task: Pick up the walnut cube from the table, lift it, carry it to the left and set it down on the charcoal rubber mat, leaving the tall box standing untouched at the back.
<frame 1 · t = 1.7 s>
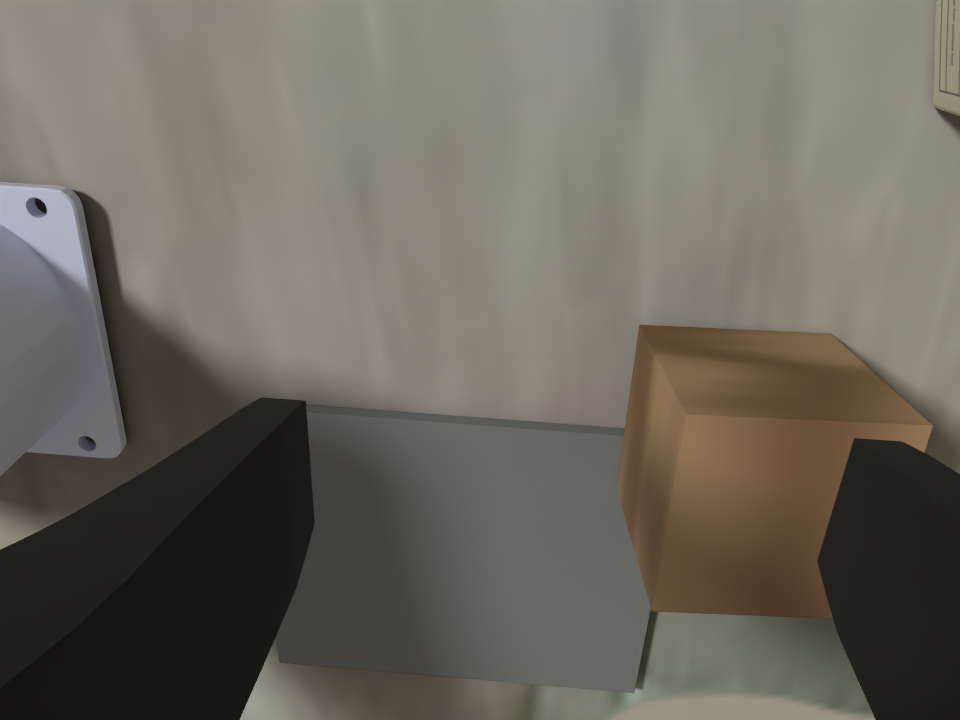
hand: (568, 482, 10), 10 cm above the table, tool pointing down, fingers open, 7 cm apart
mat: (461, 554, 24), on the table
cube: (719, 415, 21), on the table, touching mat
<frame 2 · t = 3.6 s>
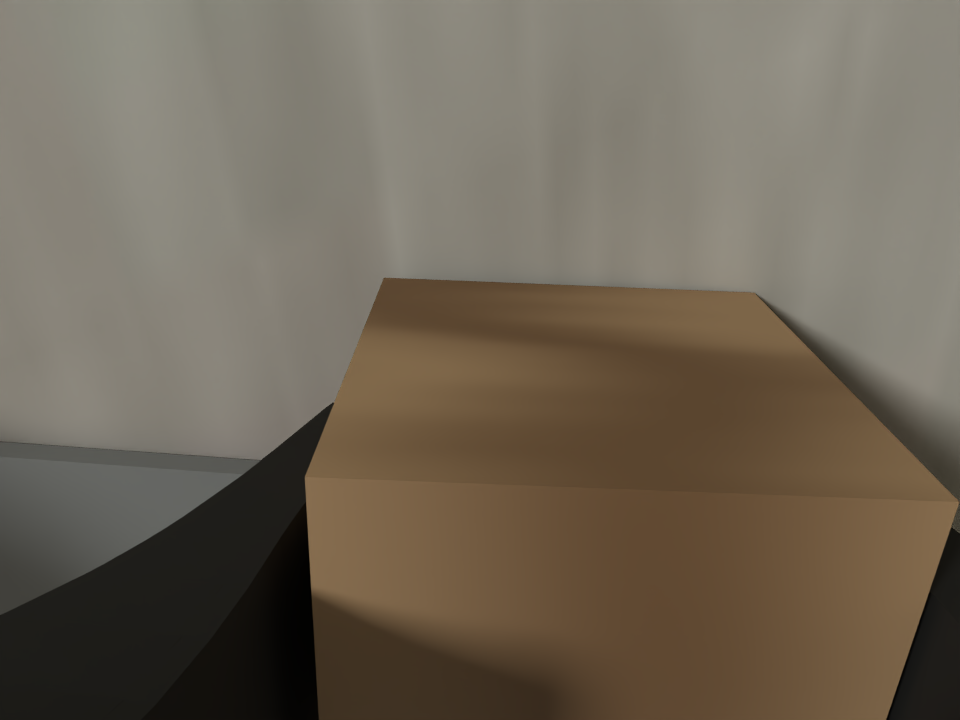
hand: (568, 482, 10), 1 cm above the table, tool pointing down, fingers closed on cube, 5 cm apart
mat: (167, 672, 15), on the table
cube: (555, 446, 12), on the table, touching gripper, mat
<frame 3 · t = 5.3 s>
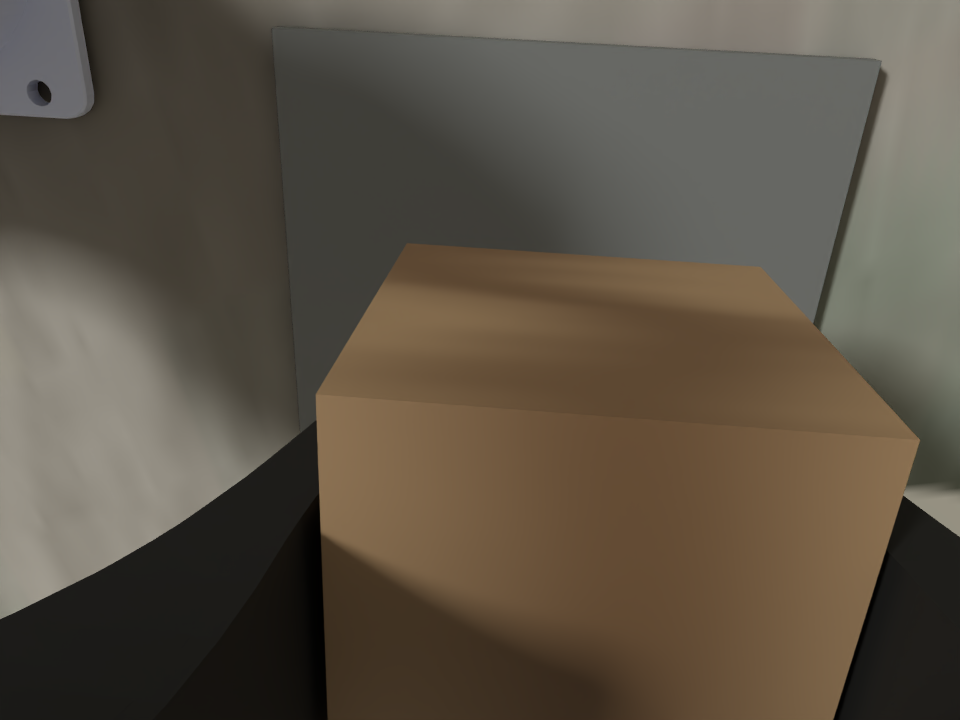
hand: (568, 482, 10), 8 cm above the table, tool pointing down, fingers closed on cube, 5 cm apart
mat: (549, 275, 18), on the table
cube: (565, 412, 12), point 7 cm above the table, touching gripper
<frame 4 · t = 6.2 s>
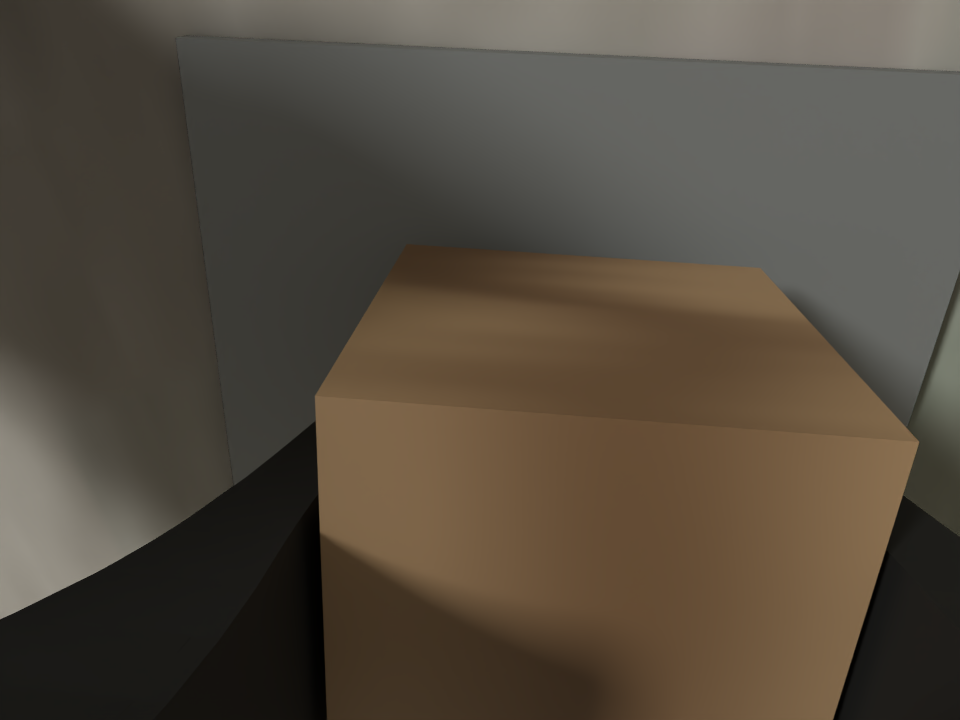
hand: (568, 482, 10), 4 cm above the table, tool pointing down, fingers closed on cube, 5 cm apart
mat: (559, 358, 14), on the table
cube: (565, 412, 12), point 2 cm above the table, touching gripper
when the fingers open (3 cm above the table, at t = 6.9 s): cube stays where it is, resting on mat.
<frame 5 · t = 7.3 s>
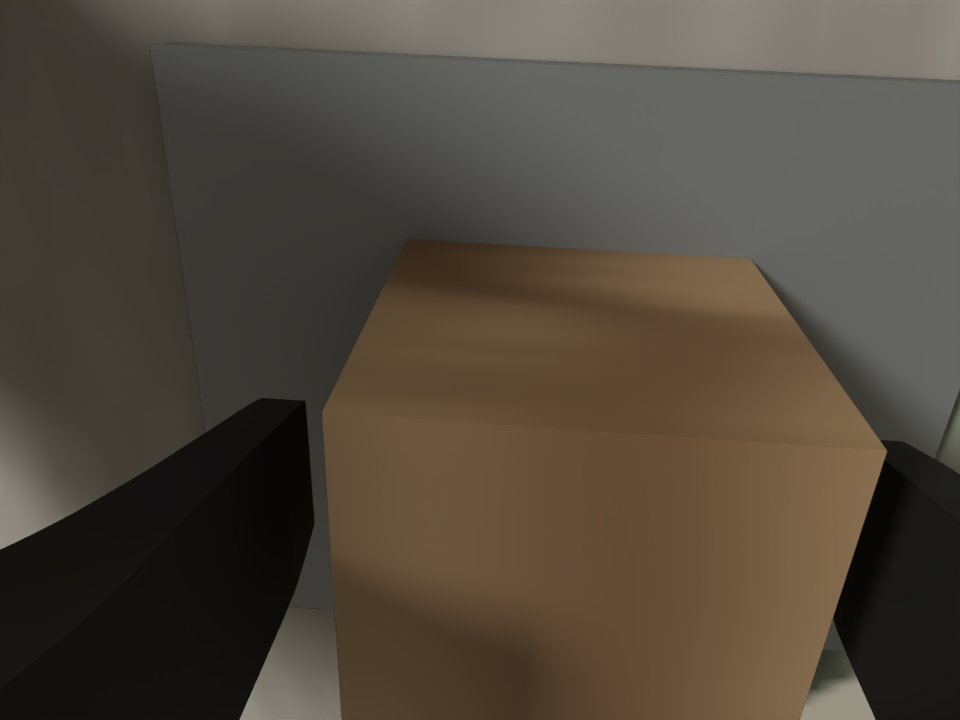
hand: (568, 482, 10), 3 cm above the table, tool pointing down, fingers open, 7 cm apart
mat: (563, 385, 13), on the table
cube: (562, 397, 13), resting on mat
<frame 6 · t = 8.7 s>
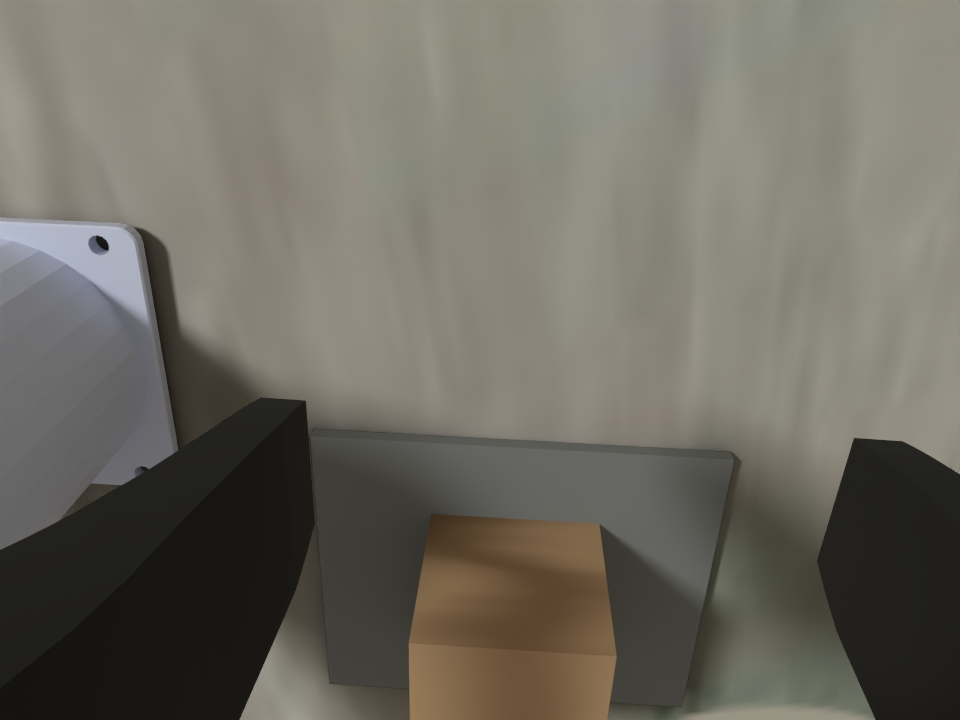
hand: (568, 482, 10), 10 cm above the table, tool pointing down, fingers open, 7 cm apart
mat: (511, 574, 25), on the table
cube: (510, 583, 24), resting on mat
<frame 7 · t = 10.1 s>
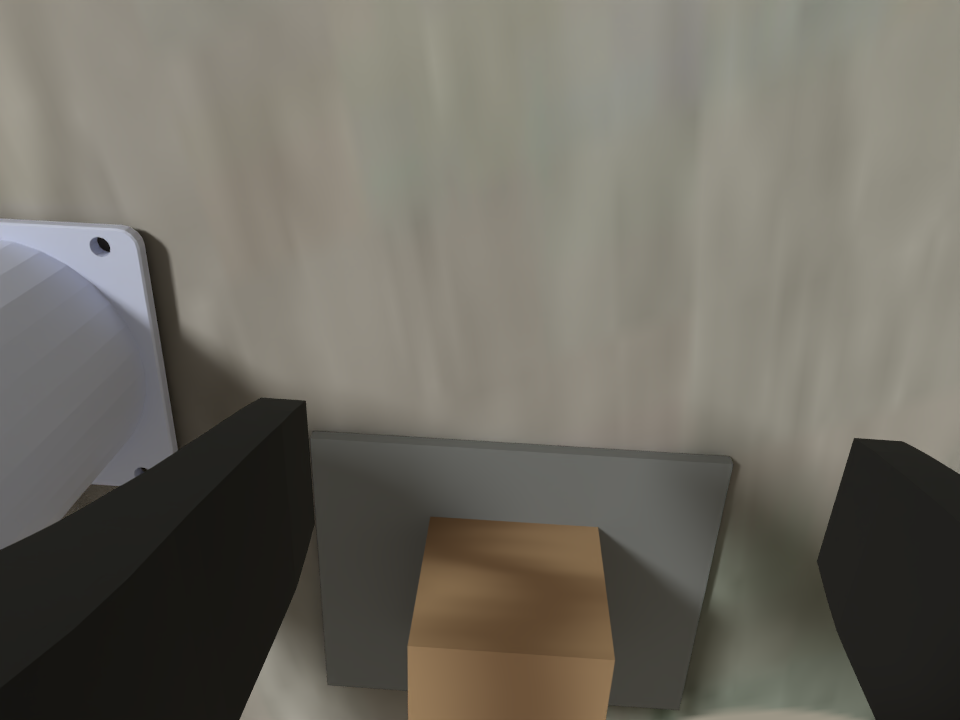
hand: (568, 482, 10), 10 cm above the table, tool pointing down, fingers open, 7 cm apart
mat: (510, 576, 25), on the table
cube: (509, 585, 24), resting on mat
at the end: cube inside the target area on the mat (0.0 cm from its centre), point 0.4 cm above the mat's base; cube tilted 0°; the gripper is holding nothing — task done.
